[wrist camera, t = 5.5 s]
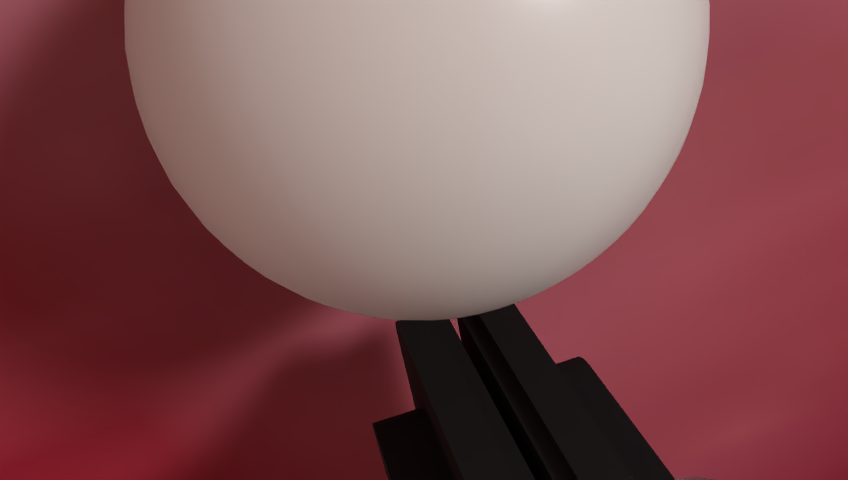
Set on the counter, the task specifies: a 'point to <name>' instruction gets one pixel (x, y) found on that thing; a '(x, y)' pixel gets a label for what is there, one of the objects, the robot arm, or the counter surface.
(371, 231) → the cue ball
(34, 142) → the counter surface
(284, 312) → the counter surface
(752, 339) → the counter surface
